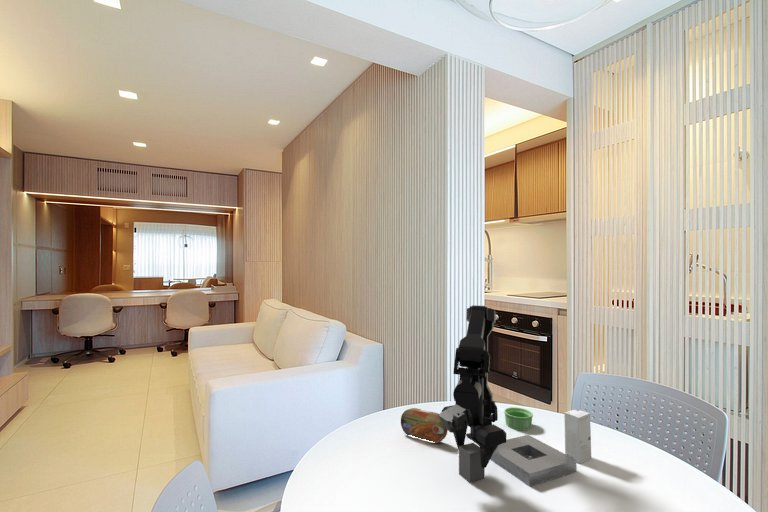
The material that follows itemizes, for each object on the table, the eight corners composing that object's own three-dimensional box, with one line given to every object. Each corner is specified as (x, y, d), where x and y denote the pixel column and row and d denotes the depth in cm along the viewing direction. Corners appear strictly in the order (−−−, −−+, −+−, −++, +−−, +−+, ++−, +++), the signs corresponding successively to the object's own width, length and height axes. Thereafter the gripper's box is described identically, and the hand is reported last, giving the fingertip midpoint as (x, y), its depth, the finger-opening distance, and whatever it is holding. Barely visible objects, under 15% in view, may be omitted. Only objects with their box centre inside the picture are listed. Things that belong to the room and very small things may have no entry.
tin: (399, 434, 116) (400, 406, 116) (405, 430, 118) (405, 403, 119) (444, 447, 107) (444, 417, 108) (448, 443, 110) (449, 414, 110)
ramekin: (498, 421, 126) (498, 408, 127) (521, 419, 129) (521, 406, 129) (515, 432, 118) (515, 418, 118) (539, 429, 121) (538, 415, 121)
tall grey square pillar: (458, 474, 93) (459, 445, 93) (473, 470, 95) (473, 442, 95) (469, 483, 89) (469, 453, 89) (484, 479, 91) (484, 450, 91)
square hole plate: (484, 455, 103) (484, 444, 103) (528, 445, 109) (528, 434, 109) (529, 486, 88) (529, 473, 88) (576, 472, 95) (576, 460, 95)
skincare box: (580, 464, 99) (579, 417, 99) (563, 457, 102) (563, 412, 103) (592, 458, 102) (591, 413, 102) (576, 451, 106) (575, 408, 106)
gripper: (424, 388, 98) (424, 448, 97) (468, 412, 81) (468, 486, 81) (459, 383, 103) (459, 440, 102) (508, 405, 86) (508, 474, 85)
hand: (471, 458), depth 92 cm, fingers open, 9 cm apart
